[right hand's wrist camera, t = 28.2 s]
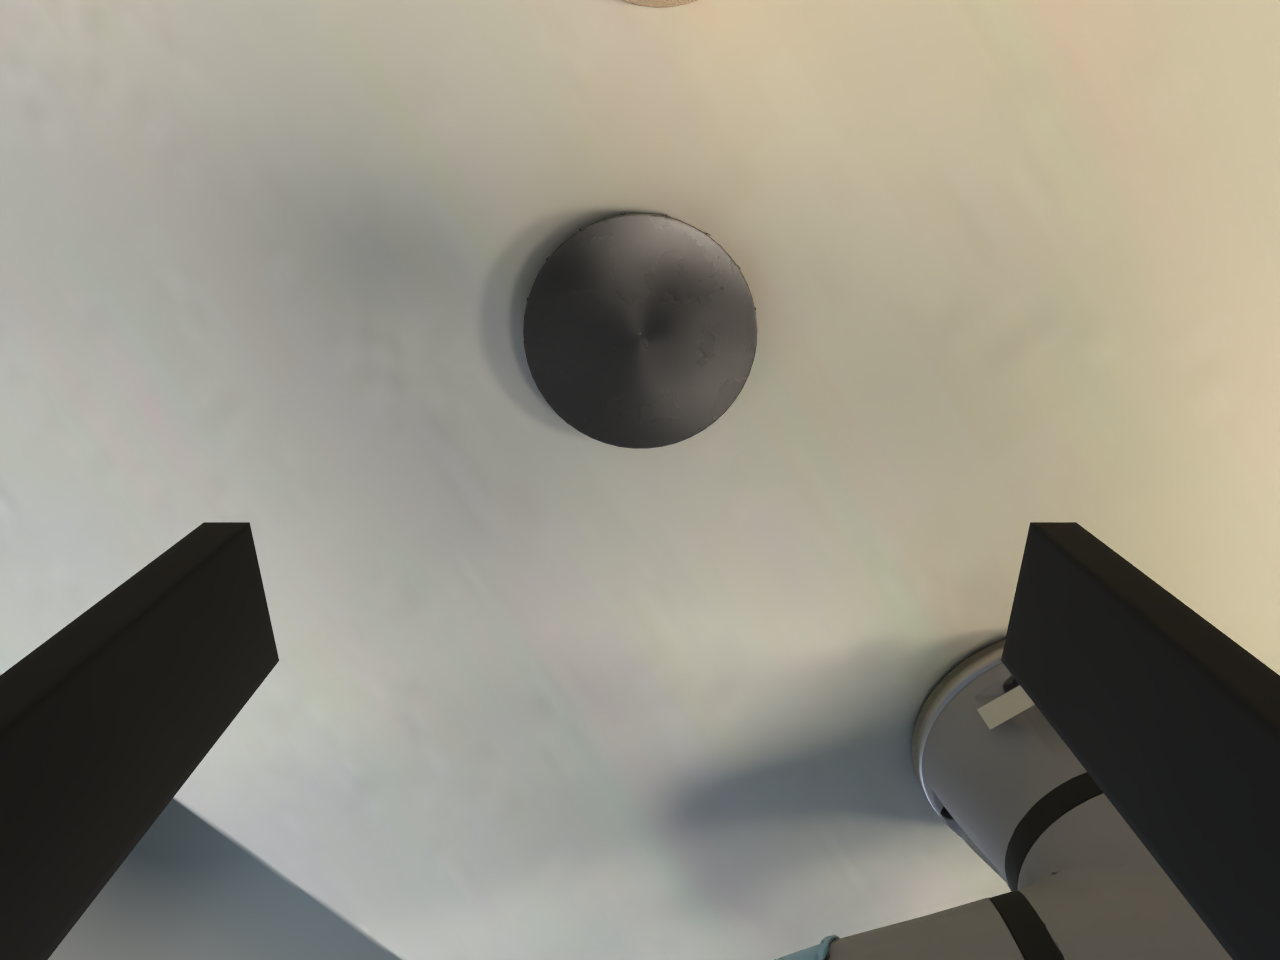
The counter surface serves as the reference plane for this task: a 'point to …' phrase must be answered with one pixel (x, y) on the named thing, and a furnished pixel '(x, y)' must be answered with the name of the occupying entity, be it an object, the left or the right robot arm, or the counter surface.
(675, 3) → the jar
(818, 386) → the counter surface
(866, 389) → the counter surface
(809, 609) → the counter surface
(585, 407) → the lid
